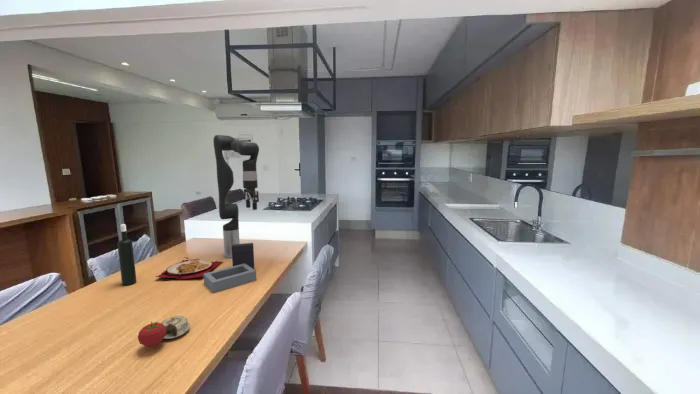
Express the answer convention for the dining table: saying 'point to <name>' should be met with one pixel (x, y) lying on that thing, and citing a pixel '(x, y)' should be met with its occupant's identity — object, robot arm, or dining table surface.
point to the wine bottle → (126, 258)
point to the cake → (175, 326)
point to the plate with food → (189, 269)
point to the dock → (229, 277)
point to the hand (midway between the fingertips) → (251, 208)
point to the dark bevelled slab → (243, 254)
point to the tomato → (152, 334)
